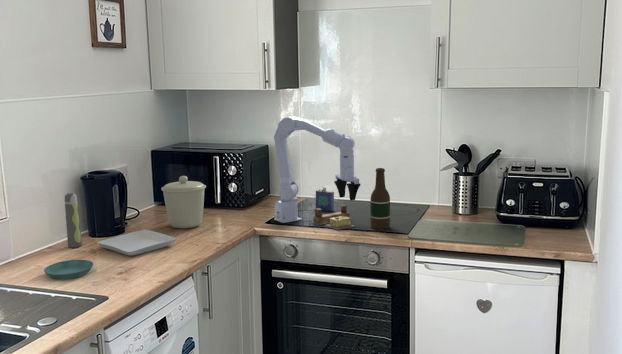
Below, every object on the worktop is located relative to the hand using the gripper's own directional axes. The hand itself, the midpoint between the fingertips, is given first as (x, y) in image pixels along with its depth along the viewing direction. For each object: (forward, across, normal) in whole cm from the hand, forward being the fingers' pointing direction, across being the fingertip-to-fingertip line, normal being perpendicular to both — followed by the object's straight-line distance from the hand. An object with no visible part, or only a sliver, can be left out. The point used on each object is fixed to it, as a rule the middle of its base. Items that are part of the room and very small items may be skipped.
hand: (347, 198), depth 252 cm
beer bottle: (+10, -15, -5) cm, 19 cm away
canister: (+10, +34, +58) cm, 68 cm away
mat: (+10, -4, +7) cm, 13 cm away
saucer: (+10, -4, +111) cm, 111 cm away
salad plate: (+10, +14, +84) cm, 86 cm away
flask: (+10, +24, -4) cm, 26 cm away
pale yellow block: (+10, -4, +7) cm, 12 cm away
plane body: (+10, +5, +5) cm, 12 cm away
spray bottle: (+10, +28, +103) cm, 107 cm away
